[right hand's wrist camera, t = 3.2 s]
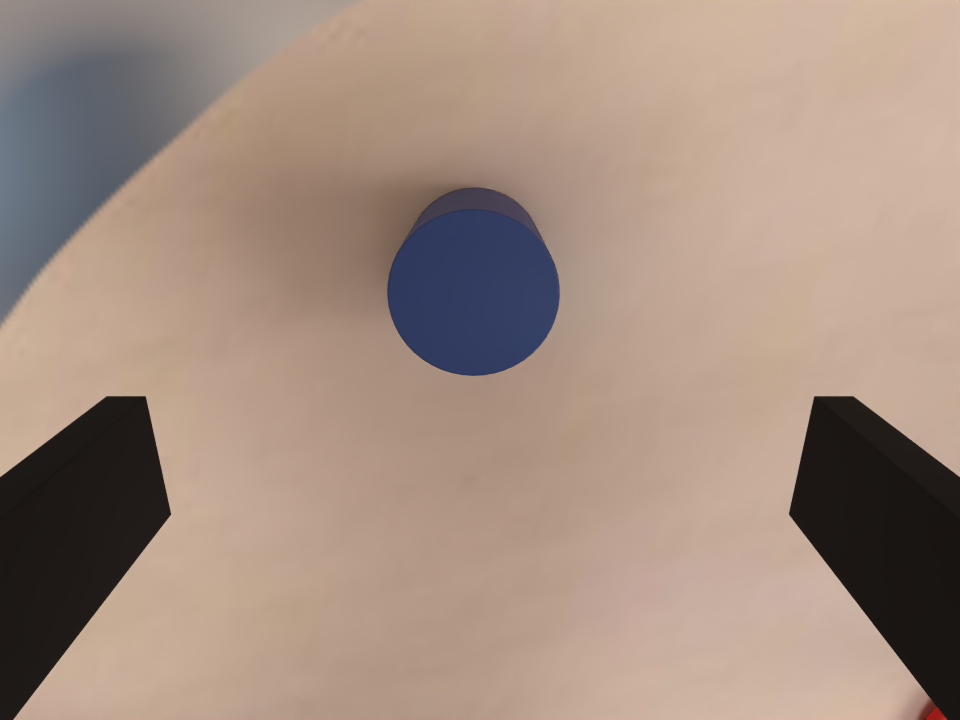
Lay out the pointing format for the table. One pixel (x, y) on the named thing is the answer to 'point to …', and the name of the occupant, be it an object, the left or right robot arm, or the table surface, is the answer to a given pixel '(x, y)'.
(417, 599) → the table surface
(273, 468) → the table surface
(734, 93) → the table surface
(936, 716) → the tow hook
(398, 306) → the can
